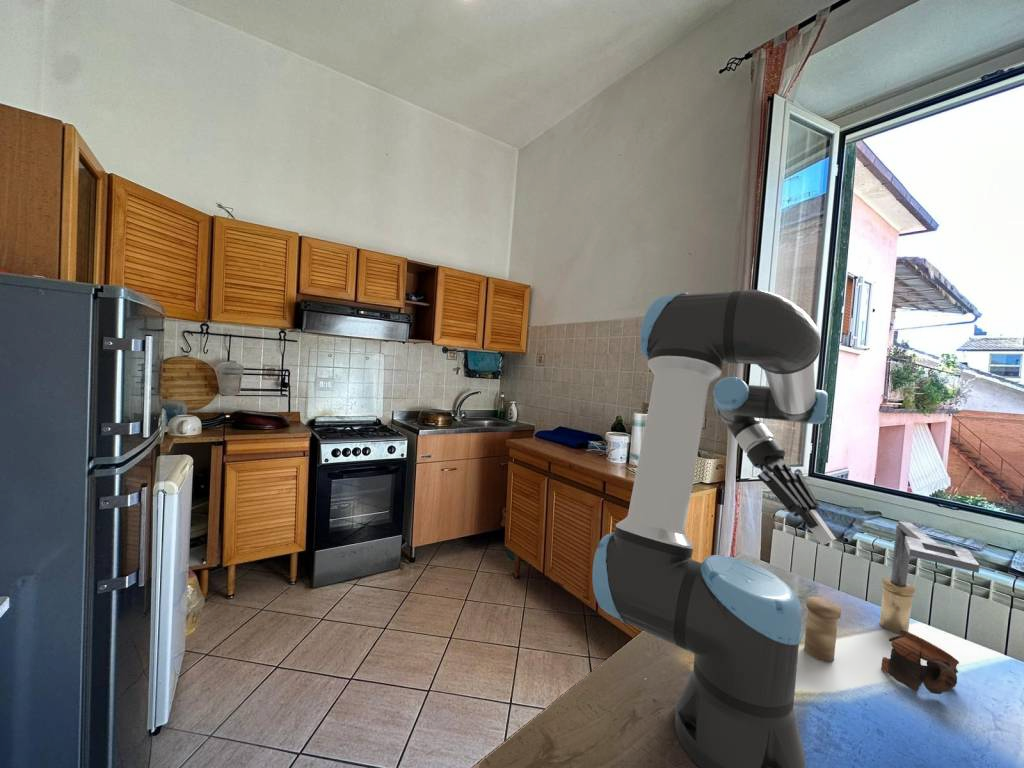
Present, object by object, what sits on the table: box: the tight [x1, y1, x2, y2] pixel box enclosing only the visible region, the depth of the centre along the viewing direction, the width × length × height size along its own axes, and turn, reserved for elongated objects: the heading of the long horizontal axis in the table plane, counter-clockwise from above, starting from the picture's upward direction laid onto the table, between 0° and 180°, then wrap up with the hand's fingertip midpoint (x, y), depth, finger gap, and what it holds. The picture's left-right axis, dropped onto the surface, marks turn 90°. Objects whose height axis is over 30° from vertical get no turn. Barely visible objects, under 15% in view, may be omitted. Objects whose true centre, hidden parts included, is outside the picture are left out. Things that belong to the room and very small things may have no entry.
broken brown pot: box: [880, 630, 960, 695], centre depth 70 cm, size 12×10×8 cm
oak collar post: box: [803, 596, 842, 663], centre depth 76 cm, size 5×5×9 cm
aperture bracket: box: [879, 520, 980, 635], centre depth 78 cm, size 10×22×22 cm, turn 141°
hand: (828, 541), depth 87 cm, fingers closed
